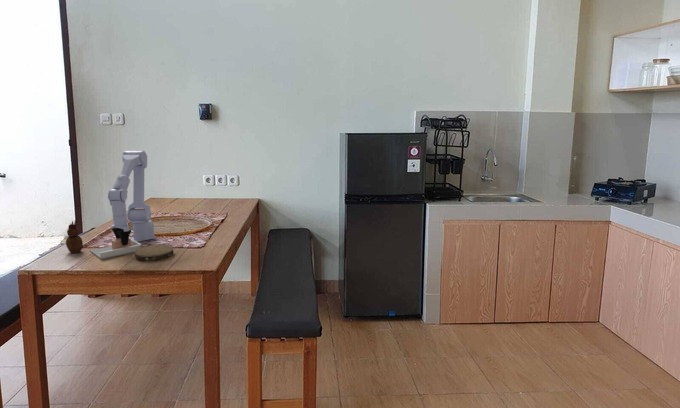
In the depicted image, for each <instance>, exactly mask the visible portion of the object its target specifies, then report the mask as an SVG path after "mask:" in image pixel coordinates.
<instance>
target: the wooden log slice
mask: <svg viewBox="0 0 680 408" xmlns="http://www.w3.org/2000/svg"><path fill="white" fill-rule="evenodd" d="M173 255H174V247H173V246H171V245H169V244H154V245H147V246H142V248H140V249H138V250H136V251H135V253H134V258H135V260H136V261H139V262H144V263H145V262H148V263H150V262H158V261H159V262H160V261H163V260H167V259H169V258H172V257H173Z"/></svg>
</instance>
